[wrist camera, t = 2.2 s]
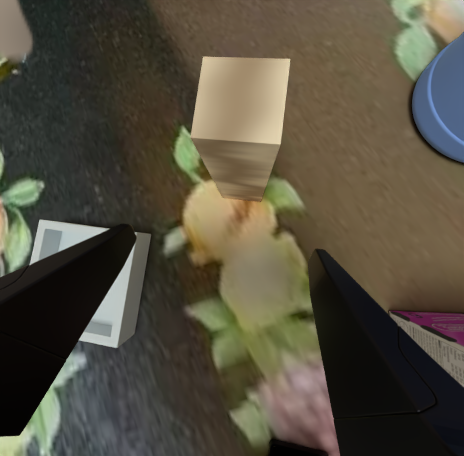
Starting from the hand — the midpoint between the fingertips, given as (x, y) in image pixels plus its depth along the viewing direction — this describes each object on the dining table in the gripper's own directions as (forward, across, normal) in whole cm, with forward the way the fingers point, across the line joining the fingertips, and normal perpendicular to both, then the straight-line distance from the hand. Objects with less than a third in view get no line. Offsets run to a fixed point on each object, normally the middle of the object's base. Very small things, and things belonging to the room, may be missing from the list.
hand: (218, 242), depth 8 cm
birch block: (+15, 0, +4) cm, 16 cm away
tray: (+5, +18, +14) cm, 24 cm away
